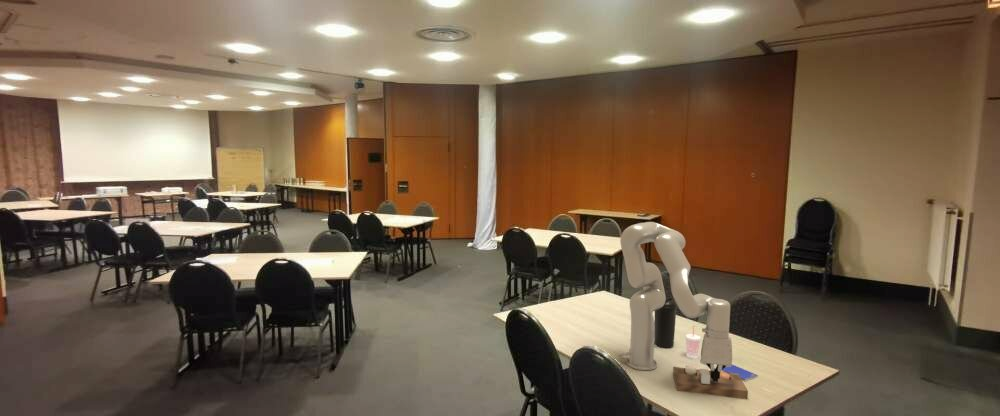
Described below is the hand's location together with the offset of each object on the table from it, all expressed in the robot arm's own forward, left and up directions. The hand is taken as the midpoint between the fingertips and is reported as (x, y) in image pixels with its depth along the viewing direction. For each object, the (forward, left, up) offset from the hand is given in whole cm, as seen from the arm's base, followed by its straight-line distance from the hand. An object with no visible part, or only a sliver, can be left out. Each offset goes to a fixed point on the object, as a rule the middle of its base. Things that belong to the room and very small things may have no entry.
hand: (714, 379), depth 172 cm
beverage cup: (-3, +30, -4) cm, 31 cm away
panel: (-1, +3, -4) cm, 6 cm away
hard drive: (+12, +18, -5) cm, 22 cm away
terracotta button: (+5, +7, -4) cm, 9 cm away
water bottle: (-14, +40, -4) cm, 43 cm away
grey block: (-4, 0, -1) cm, 4 cm away
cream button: (-7, +7, -2) cm, 10 cm away
